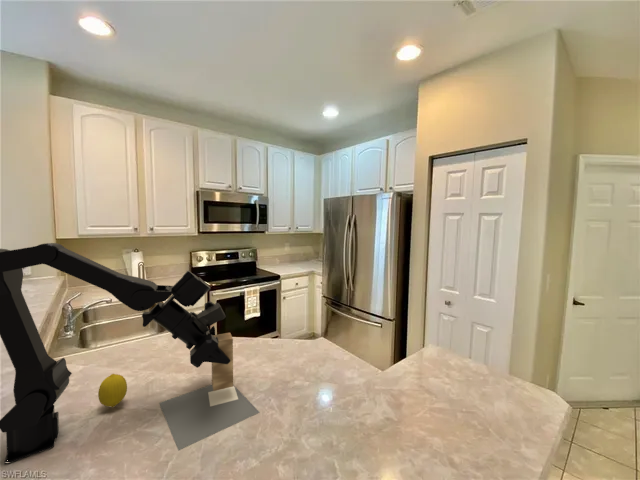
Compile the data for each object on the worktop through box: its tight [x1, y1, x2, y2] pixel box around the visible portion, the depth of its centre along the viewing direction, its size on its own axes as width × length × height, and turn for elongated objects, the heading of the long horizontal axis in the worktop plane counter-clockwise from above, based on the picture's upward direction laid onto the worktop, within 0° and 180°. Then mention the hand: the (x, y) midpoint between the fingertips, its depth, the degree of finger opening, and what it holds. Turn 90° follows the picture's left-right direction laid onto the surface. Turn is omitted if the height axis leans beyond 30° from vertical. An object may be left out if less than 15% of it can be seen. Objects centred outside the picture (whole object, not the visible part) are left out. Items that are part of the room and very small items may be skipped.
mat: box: [158, 384, 260, 451], centre depth 65 cm, size 17×19×1 cm
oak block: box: [211, 332, 234, 391], centre depth 69 cm, size 5×5×12 cm
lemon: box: [97, 373, 128, 408], centre depth 66 cm, size 6×6×8 cm
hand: (227, 358), depth 70 cm, fingers closed on oak block, 5 cm apart
